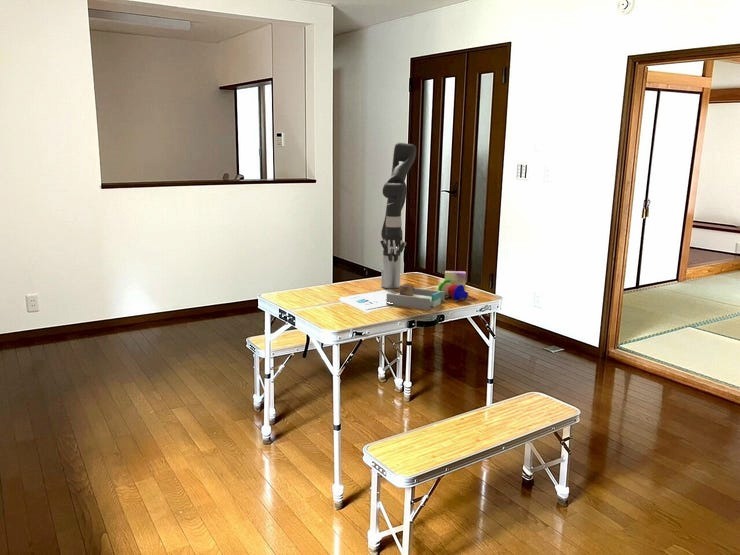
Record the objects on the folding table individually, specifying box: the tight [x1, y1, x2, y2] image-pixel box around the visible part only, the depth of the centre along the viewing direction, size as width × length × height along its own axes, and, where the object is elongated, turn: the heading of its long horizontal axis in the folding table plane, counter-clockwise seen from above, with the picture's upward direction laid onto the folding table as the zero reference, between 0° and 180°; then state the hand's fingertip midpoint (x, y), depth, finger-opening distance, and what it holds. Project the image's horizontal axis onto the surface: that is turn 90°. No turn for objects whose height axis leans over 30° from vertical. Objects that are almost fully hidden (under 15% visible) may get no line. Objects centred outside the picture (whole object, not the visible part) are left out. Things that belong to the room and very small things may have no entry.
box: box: [444, 270, 467, 292], centre depth 313 cm, size 10×6×12 cm, turn 84°
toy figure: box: [437, 279, 469, 302], centre depth 304 cm, size 9×10×15 cm
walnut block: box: [399, 283, 415, 296], centre depth 298 cm, size 5×5×5 cm
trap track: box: [386, 287, 446, 311], centre depth 297 cm, size 22×18×6 cm
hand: (393, 261), depth 299 cm, fingers closed
